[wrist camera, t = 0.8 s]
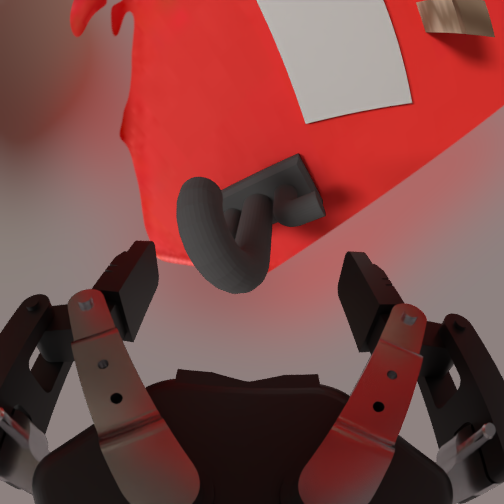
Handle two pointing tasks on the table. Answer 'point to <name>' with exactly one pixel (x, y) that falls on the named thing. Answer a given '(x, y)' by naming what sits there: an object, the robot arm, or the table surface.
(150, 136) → the table surface
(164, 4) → the table surface
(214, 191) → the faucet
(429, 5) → the wooden block
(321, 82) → the grey board
